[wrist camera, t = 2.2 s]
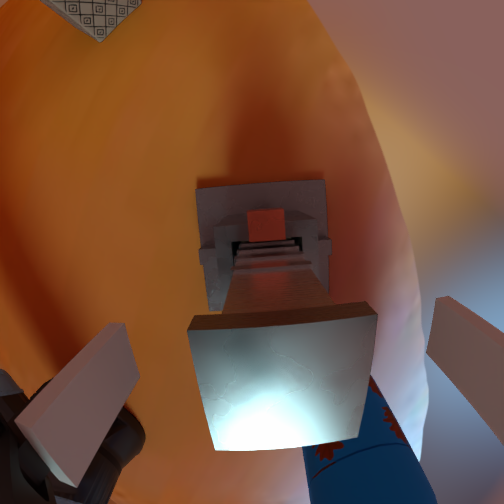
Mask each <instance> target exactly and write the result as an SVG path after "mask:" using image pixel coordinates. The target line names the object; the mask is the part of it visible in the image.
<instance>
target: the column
mask: <svg viewBox="0 0 504 504" xmlns="http://www.w3.org/2000/svg"><path fill="white" fill-rule="evenodd" d="M230 274H231V282H230V286H229V289H228V293H227V296H226V300H225V304H224V307H223V311H222V314H215V315H194V317H193V319H192V321H191V323H190V325H189V327H188V329H187V333H188V338H189V343H190V348H191V353H192V358H193V363H194V367H195V372H196V376H197V381H198V385H199V389H200V393H201V398H202V402H203V406H204V410H205V414H206V418H207V421H208V425H209V429H210V432H211V436H212V440H213V443H214V447H215V450H263V449H279V448H290V447H300V446H308V445H316V444H323V443H329V442H335V441H341V440H346V439H351V438H356V437H358V433H359V428H360V424H361V420H362V415H363V410H364V405H365V400H366V395H367V390H368V384H369V378H370V372H371V365H372V359H373V351H374V343H375V335H376V325H377V315H378V314H377V313H376V312H375V311H374V310H373V309H372V308H371V307H370V306H369V305H368V303H367V302H366V301H364V302H356V303H348V304H339V305H335V303H334V302H333V300H332V299H331V297H330V296H329V294H328V293H327V291H326V290H325V288H324V287H323V285H322V284H321V282H320V281H319V280H318V278H317V277H316V275H315V274H314V272H313V264H312V263H311V261H310V260H308V261H305V253H304V252H303V251H299V246H298V244H294V239H291V237H287V238H286V240H273V241H259V242H249V240H247V241H241V242H240V243H239V248H238V249H237V256H235V257H234V266H231V269H230Z"/></svg>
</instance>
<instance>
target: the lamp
mask: <svg viewBox="0 0 504 504" xmlns="http://www.w3.org/2000/svg"><path fill="white" fill-rule="evenodd" d="M40 1H41V2H43V3H44V4H45V5H47V6H48V7H49V8H51V9H52V10H53V11H55V12H56V13H57V14H59V15H60V16H61V17H63V18H64V19H65V20H66V21H68V22H69V23H70V24H72V25H73V26H74V27H76V28H77V29H79V30H81V31H82V32H84V33H86V34H87V35H89V36H91V37H92V38H94V39H96V40H97V41H99V42H102V41H103V40H104V39H105V38H106V37H107V36H108V35H109V34H110V33H111V32H112V30H113V29H114V28H115V27H116V26H117V25H118V24H120V23H121V22H122V21H123V20H124V19H125V18H126V17H127V16H128V15H129V14H130V13H131V12H132V11H133V10H134V9H136V8H137V7H138V6H139V5H140V4H141V3H142V1H141V0H40Z"/></svg>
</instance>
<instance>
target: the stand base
mask: <svg viewBox="0 0 504 504" xmlns="http://www.w3.org/2000/svg"><path fill="white" fill-rule="evenodd" d="M195 191H196V202H197V213H198V223H199V232H200V241H201V248H200V249H199V258H200V265H203V267H204V275H205V283H206V290H207V297H208V305H209V311H220V310H223V307H224V304H225V300H226V296H227V293H228V289H229V286H230V282H231V274H230V269H231V266H234V257H235V256H237V249H238V248H239V243H240V242H241V241H247V240H249V242H259V241H273V240H286V238H287V237H291V239H294V244H298V246H299V251H303V252H304V253H305V261H308V260H310V261H311V263H312V264H313V272H314V274H315V275H316V277H317V278H318V280H319V281H320V282H321V284H322V285H323V287H324V288H325V290H326V291H327V293H328V294H329V259H328V255H332V240H331V239H330V238H328V226H327V206H326V189H325V180H301V181H283V182H268V183H254V184H242V185H231V186H220V187H211V188H201V189H195Z"/></svg>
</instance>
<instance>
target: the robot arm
mask: <svg viewBox="0 0 504 504" xmlns="http://www.w3.org/2000/svg"><path fill="white" fill-rule="evenodd" d="M426 353H427V354H428V356H429V357H430V358H431V359H432V360H433V361H434V362H435V363H436V364H437V366H438V367H439V368H440V369H441V370H442V371H443V372H444V373H445V375H446V376H447V377H448V378H449V379H450V380H451V381H452V383H453V384H454V385H455V386H456V387H457V388H458V389H459V390H460V392H461V393H462V394H463V395H464V397H465V398H466V399H467V400H468V401H469V403H470V404H471V405H472V406H473V407H474V409H475V410H476V411H477V412H478V414H479V415H480V416H481V417H482V419H483V420H484V421H485V422H486V423H487V425H488V426H489V427H490V429H491V430H492V431H493V432H494V434H495V435H496V436H497V438H498V439H499V440H500V442H501V443H502V444H503V445H504V333H503V332H501V331H500V330H499V329H497V328H496V327H494V326H493V325H491V324H490V323H488V322H487V321H486V320H484V319H483V318H481V317H480V316H478V315H477V314H475V313H474V312H472V311H471V310H469V309H468V308H466V307H465V306H463V305H462V304H460V303H459V302H457V301H456V300H454V299H453V298H451V297H449V296H446V297H440V298H436V301H435V308H434V314H433V320H432V326H431V332H430V336H429V341H428V346H427V351H426ZM139 378H140V375H139V372H138V369H137V365H136V362H135V359H134V356H133V352H132V349H131V346H130V342H129V339H128V335H127V331H126V328H125V324H124V323H109V324H108V325H106V326H105V327H104V328H103V329H102V330H101V331H100V332H99V333H98V334H97V335H96V336H95V337H94V338H93V339H92V340H91V341H90V342H89V343H88V344H87V345H86V346H85V347H84V348H83V349H82V350H81V351H80V352H79V353H78V354H77V355H76V356H75V357H74V358H73V359H72V360H71V361H70V362H69V363H68V364H67V365H66V366H65V367H64V368H63V369H62V370H61V371H60V372H59V373H58V374H57V375H56V376H55V377H54V378H52V379H50V380H49V381H47V382H45V383H44V384H43V385H42V386H41V387H40V388H39V389H38V390H37V391H36V393H34V394H33V395H32V396H31V397H30V400H29V399H28V398H27V396H26V395H25V394H24V393H23V392H24V391H23V389H20V388H19V386H18V385H17V384H16V383H15V381H14V380H13V379H12V377H11V376H10V375H9V374H8V373H7V372H6V371H5V370H3V369H0V504H108V502H109V499H110V497H111V494H112V492H113V489H114V487H115V485H116V482H117V480H118V477H119V475H120V473H121V471H122V469H123V468H124V467H125V466H126V465H127V464H128V463H129V462H130V461H131V460H132V459H133V458H134V457H135V456H136V455H138V454H139V453H140V451H141V450H142V448H143V445H144V443H145V433H144V430H143V428H142V427H141V425H140V424H139V422H138V421H137V420H136V419H135V418H134V417H133V416H132V415H131V414H130V413H129V412H128V411H127V410H126V409H124V408H123V405H124V403H125V401H126V400H127V398H128V396H129V395H130V393H131V391H132V390H133V388H134V386H135V384H136V383H137V381H138V379H139Z"/></svg>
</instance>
